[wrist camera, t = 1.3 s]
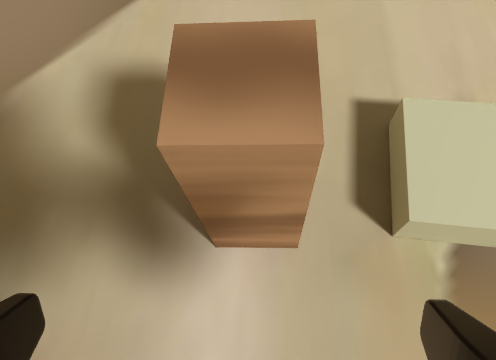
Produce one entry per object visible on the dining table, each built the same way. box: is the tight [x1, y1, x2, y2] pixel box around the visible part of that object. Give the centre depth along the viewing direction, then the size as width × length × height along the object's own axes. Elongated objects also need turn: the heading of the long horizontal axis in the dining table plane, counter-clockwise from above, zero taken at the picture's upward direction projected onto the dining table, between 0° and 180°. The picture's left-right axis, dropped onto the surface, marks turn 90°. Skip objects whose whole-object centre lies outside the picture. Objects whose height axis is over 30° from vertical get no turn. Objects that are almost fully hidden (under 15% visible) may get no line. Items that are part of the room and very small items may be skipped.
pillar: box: [156, 20, 324, 248], centre depth 17 cm, size 5×5×12 cm
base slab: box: [389, 98, 496, 247], centre depth 22 cm, size 8×8×3 cm
